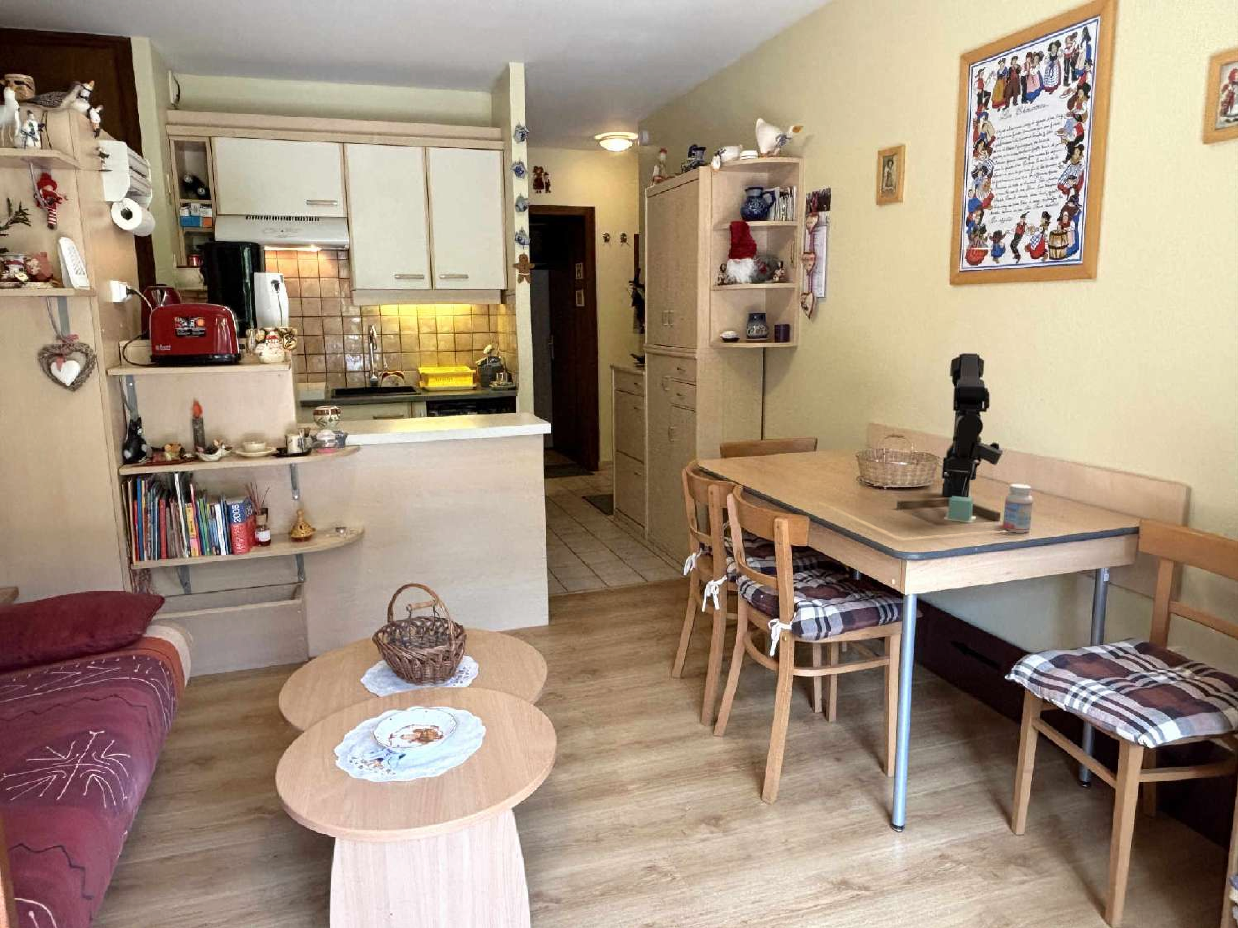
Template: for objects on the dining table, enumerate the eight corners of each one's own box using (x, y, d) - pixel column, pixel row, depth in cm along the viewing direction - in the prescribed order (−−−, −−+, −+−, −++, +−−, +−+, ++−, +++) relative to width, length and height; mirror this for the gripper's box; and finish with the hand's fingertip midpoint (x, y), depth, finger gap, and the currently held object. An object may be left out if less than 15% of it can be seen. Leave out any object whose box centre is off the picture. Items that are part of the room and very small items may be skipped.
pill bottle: (997, 527, 207) (1001, 483, 205) (1021, 526, 208) (1025, 483, 206) (1011, 533, 201) (1015, 488, 199) (1035, 533, 202) (1039, 488, 200)
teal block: (951, 514, 216) (952, 495, 215) (971, 517, 214) (973, 498, 213) (947, 518, 212) (949, 499, 211) (968, 521, 209) (970, 501, 208)
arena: (954, 507, 227) (955, 497, 227) (999, 524, 210) (1000, 512, 210) (896, 511, 223) (897, 500, 222) (937, 528, 206) (938, 516, 205)
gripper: (997, 440, 197) (991, 504, 199) (1006, 430, 212) (1000, 489, 215) (947, 436, 202) (942, 498, 205) (959, 427, 218) (955, 485, 221)
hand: (961, 493), depth 211 cm, fingers open, 9 cm apart
